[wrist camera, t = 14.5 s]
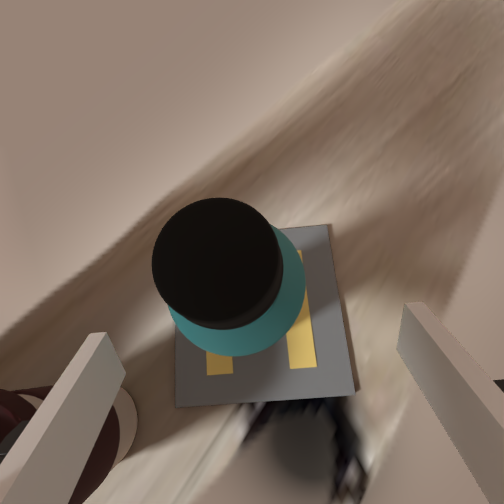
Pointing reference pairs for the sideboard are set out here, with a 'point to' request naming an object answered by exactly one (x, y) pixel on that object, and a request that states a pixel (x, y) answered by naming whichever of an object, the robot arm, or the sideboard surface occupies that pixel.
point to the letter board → (278, 346)
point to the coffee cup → (105, 448)
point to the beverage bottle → (228, 277)
